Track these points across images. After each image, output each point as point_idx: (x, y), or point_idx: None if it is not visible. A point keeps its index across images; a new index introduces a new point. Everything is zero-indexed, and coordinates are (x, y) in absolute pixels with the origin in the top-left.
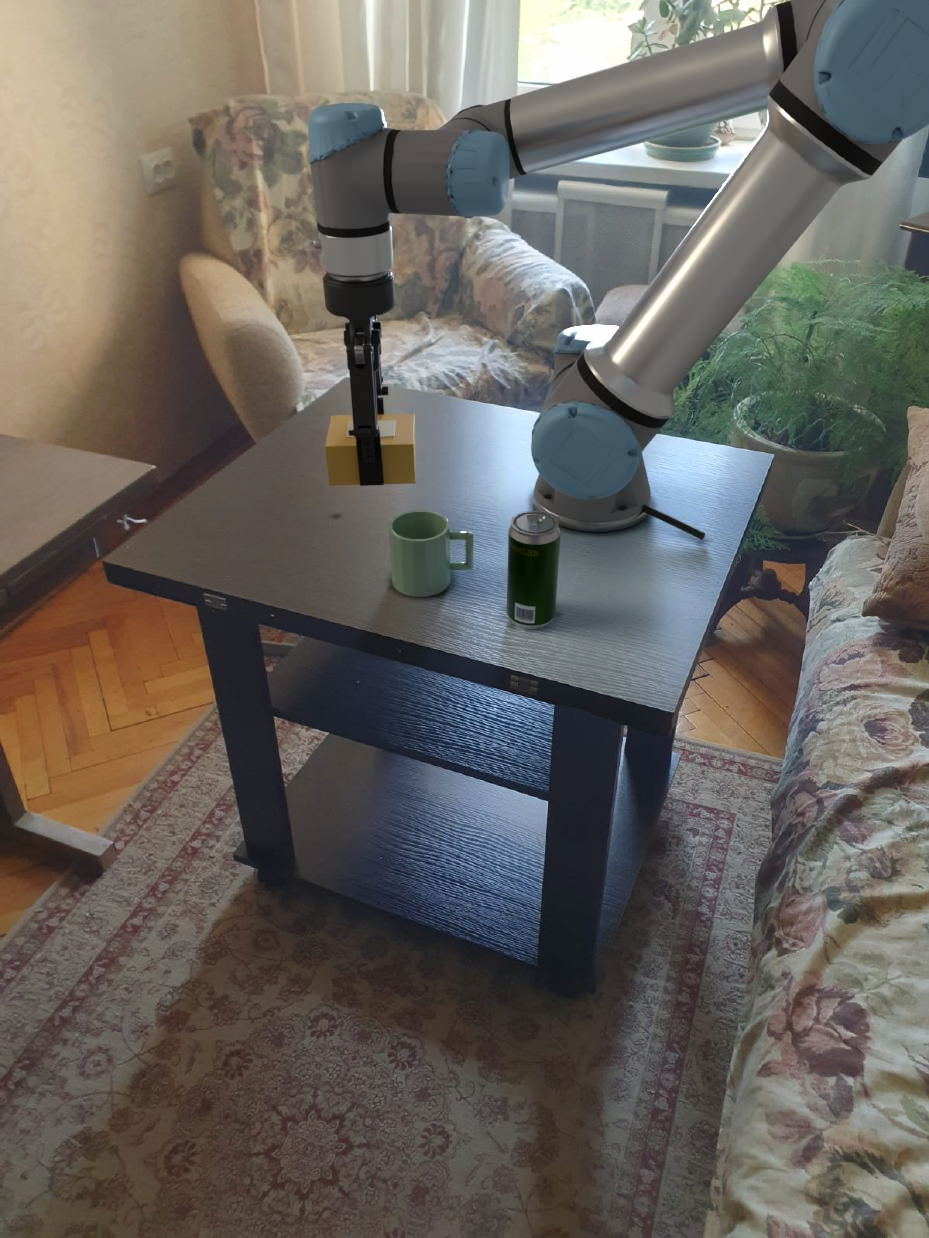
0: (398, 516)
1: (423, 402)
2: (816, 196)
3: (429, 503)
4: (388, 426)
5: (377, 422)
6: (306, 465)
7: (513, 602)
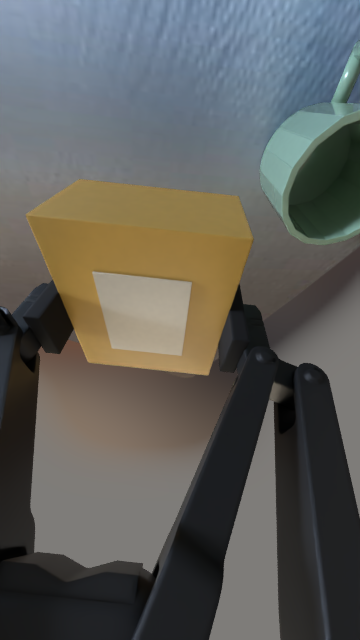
0: (292, 226)
1: None
2: None
3: (76, 123)
4: (132, 290)
5: (249, 366)
6: (25, 286)
7: None
